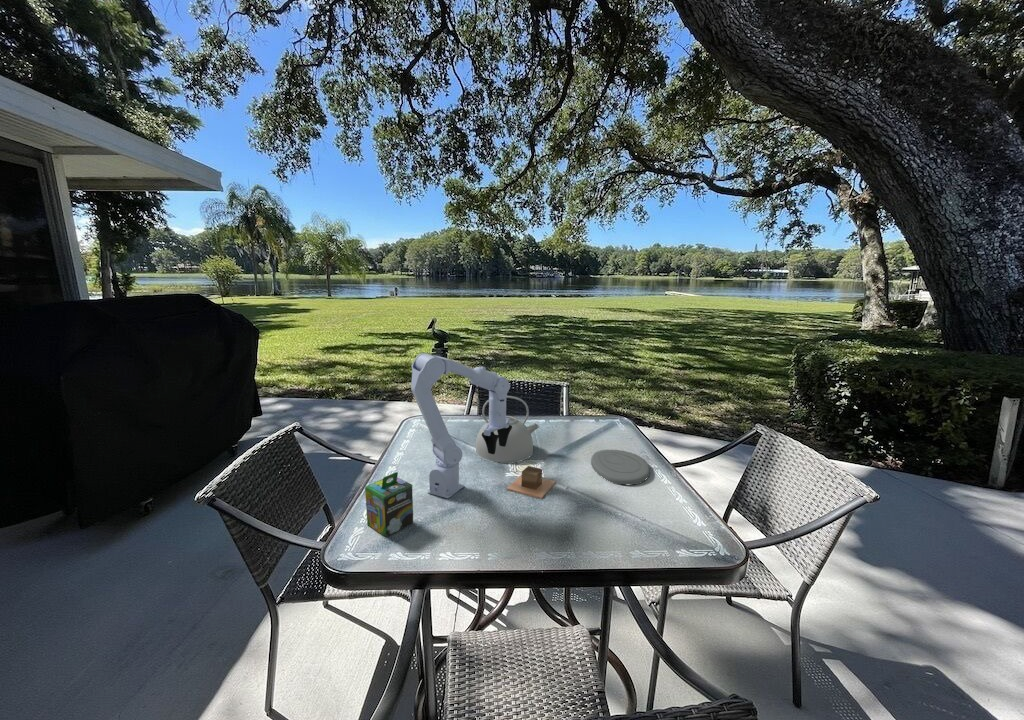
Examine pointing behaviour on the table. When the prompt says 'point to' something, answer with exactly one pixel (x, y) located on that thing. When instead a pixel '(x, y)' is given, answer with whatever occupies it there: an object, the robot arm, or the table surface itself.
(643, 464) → the frisbee
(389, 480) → the chalk box
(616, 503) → the table surface
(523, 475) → the walnut block
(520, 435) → the kettle
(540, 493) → the terracotta tile
